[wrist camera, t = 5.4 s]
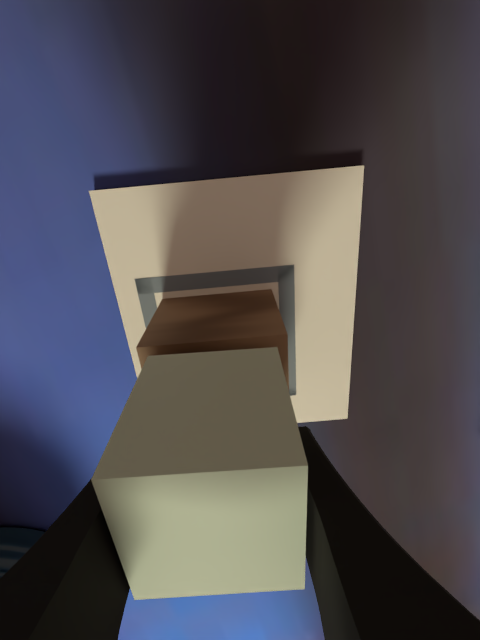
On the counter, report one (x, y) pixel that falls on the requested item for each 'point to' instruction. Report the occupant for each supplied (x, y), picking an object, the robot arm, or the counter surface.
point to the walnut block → (216, 325)
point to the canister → (15, 545)
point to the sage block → (207, 477)
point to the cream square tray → (248, 262)
